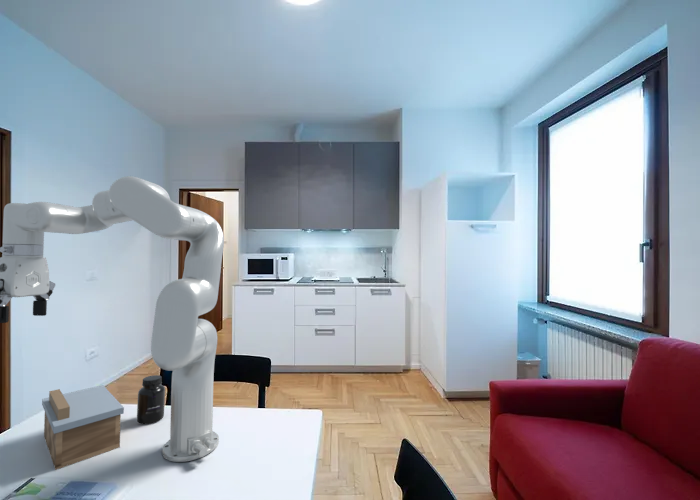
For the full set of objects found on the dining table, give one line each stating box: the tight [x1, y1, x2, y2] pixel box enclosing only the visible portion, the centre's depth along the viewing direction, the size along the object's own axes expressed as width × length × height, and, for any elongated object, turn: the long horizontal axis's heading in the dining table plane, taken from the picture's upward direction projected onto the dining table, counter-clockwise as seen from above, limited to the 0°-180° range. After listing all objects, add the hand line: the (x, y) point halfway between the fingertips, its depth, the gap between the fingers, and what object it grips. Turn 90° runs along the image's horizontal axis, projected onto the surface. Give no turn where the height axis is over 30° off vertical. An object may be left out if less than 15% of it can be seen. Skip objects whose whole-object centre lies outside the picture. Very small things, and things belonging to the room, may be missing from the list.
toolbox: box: [43, 412, 122, 471], centre depth 84 cm, size 20×12×8 cm, turn 48°
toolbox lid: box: [41, 384, 125, 434], centre depth 84 cm, size 21×13×4 cm, turn 48°
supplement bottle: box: [136, 374, 166, 425], centre depth 96 cm, size 7×7×12 cm
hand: (21, 318), depth 84 cm, fingers open, 9 cm apart
